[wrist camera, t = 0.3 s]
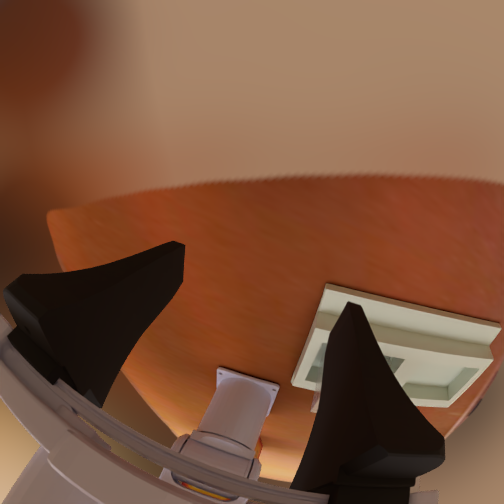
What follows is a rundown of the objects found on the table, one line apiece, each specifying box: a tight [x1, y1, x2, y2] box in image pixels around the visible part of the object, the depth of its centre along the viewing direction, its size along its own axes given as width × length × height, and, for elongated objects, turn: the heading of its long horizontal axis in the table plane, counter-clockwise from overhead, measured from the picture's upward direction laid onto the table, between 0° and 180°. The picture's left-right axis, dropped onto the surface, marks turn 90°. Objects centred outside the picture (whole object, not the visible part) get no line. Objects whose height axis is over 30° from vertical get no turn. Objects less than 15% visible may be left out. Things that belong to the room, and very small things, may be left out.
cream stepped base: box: [291, 283, 502, 407], centre depth 22 cm, size 14×20×3 cm
